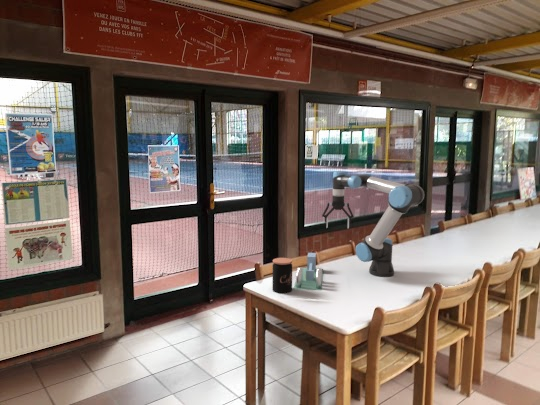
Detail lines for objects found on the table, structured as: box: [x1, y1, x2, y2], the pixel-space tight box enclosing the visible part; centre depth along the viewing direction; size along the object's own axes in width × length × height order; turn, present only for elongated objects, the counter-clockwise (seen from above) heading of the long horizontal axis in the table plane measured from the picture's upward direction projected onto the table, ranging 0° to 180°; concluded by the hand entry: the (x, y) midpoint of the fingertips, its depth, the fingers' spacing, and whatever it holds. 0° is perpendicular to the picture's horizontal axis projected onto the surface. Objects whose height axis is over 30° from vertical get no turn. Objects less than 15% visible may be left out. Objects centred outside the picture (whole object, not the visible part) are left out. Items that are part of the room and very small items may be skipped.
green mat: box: [293, 267, 324, 291], centre depth 248 cm, size 16×40×1 cm, turn 172°
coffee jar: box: [272, 257, 293, 294], centre depth 226 cm, size 11×11×18 cm
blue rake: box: [306, 252, 317, 281], centre depth 256 cm, size 5×26×10 cm, turn 172°
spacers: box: [295, 266, 323, 289], centre depth 236 cm, size 14×13×8 cm
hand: (337, 227), depth 271 cm, fingers open, 13 cm apart
